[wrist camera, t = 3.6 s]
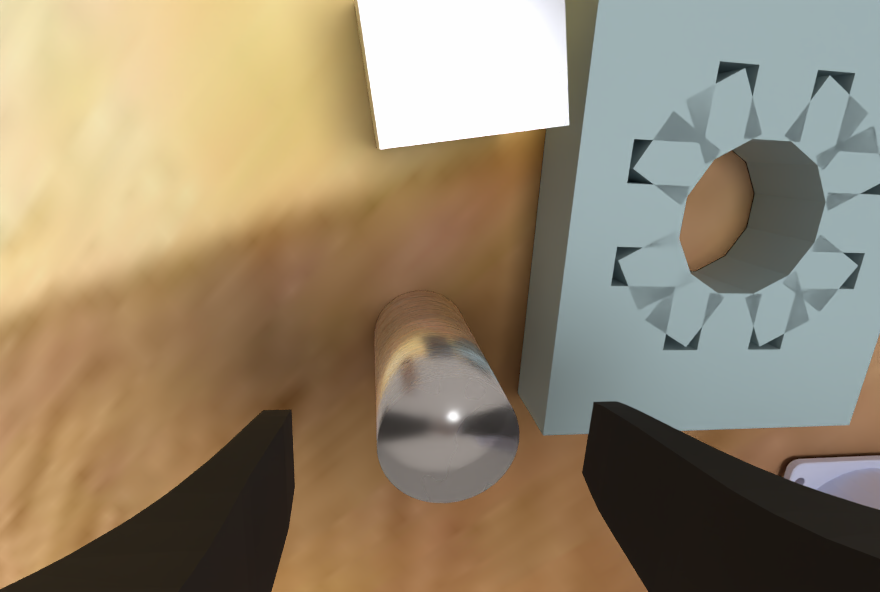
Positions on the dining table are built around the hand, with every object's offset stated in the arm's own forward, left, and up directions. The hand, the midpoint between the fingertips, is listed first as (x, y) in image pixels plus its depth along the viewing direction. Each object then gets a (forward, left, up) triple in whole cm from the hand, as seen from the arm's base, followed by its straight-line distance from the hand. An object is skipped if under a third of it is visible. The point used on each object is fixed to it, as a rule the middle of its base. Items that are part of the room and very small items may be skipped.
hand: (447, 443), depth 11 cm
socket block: (+5, -10, -7) cm, 13 cm away
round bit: (0, 0, -7) cm, 7 cm away
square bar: (+9, 0, -7) cm, 11 cm away
